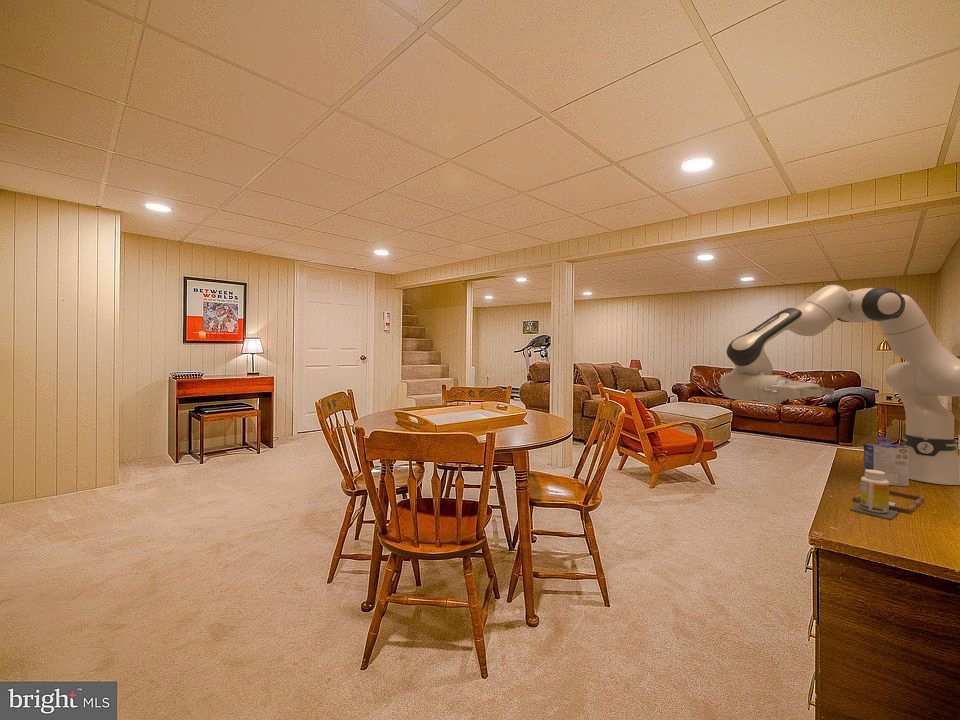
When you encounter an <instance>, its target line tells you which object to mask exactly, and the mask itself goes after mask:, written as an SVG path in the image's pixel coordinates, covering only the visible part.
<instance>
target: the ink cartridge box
mask: <svg viewBox="0 0 960 720" xmlns="http://www.w3.org/2000/svg"><path fill="white" fill-rule="evenodd" d="M881 440H886V441H881ZM876 442H877V443H863V477H864V476H865V470H868V469H870V470H878V471H882V472H885V479H886V480H887V481H889V486H899V487H900V486H901V487H902V486H903V487H909V485H910V484H909V483H910V481H909V480H910V479H909V448H907V447H904V446H905V445H900V444H893V443H892V441H891V438H890V437H882V436H881V437H879V436H876Z"/></svg>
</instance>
